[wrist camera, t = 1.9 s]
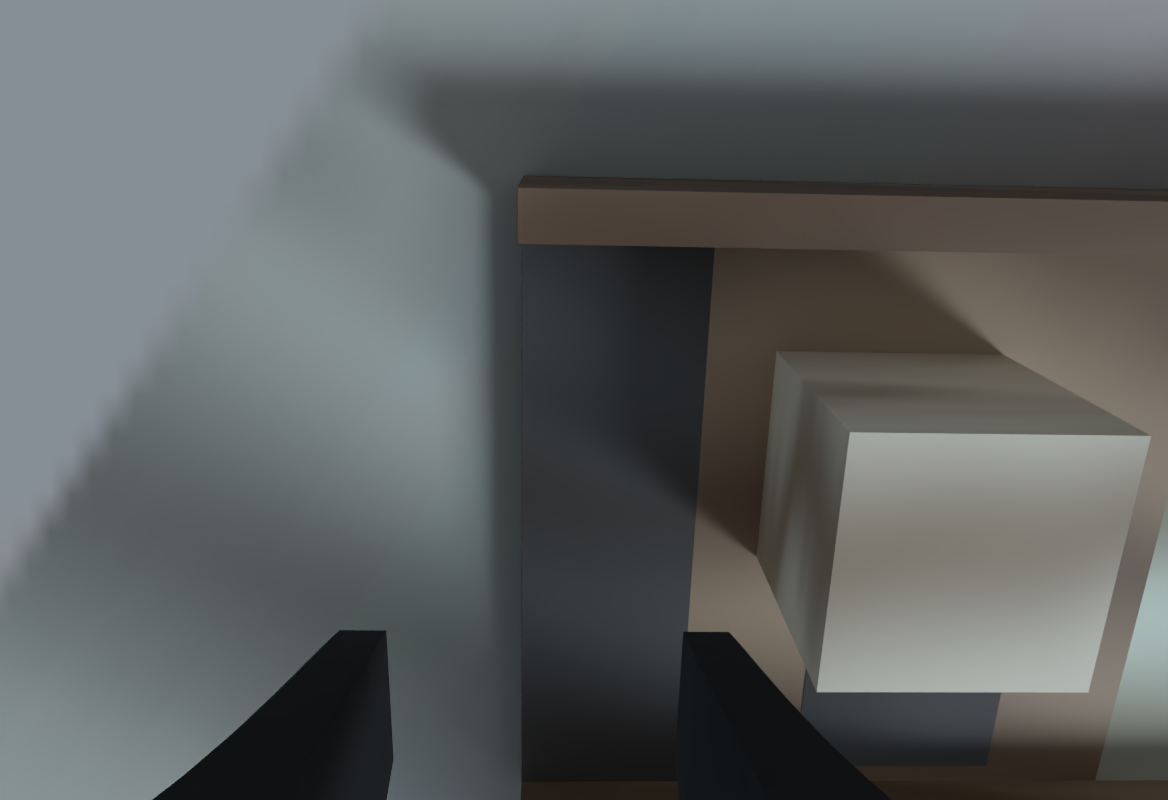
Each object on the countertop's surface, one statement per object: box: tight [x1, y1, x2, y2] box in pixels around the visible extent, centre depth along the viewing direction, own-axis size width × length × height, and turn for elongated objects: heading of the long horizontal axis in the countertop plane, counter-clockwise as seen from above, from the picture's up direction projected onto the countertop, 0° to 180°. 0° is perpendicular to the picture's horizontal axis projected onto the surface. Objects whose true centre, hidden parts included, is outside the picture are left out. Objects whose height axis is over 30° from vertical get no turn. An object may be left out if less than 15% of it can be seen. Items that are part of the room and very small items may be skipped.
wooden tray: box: [518, 176, 1168, 800], centre depth 20 cm, size 16×23×3 cm
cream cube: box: [757, 351, 1151, 693], centre depth 17 cm, size 5×5×5 cm
